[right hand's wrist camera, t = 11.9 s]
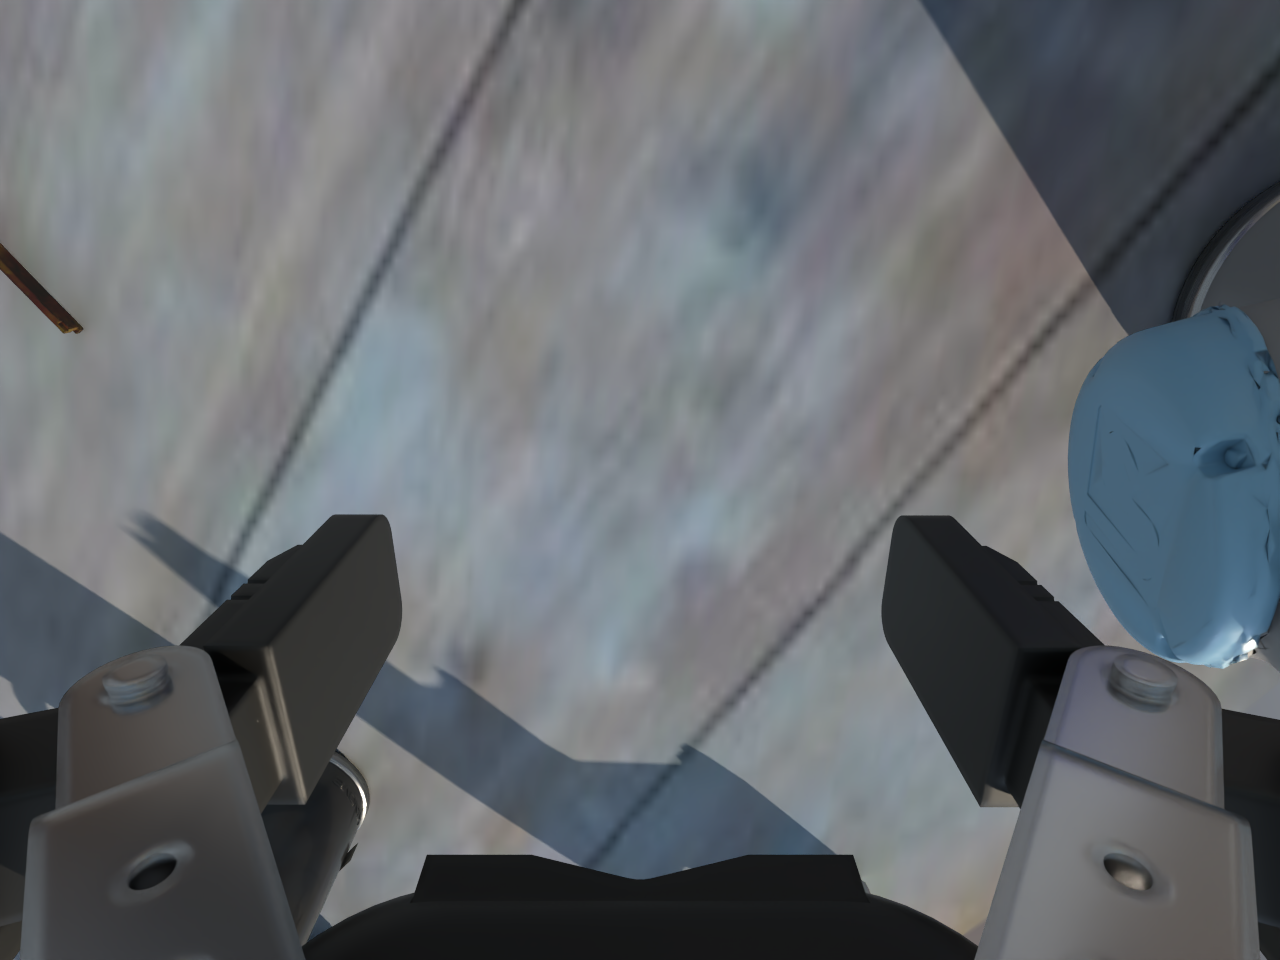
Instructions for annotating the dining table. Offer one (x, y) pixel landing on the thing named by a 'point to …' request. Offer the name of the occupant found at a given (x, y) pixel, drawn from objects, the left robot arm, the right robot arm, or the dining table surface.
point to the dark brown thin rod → (37, 293)
